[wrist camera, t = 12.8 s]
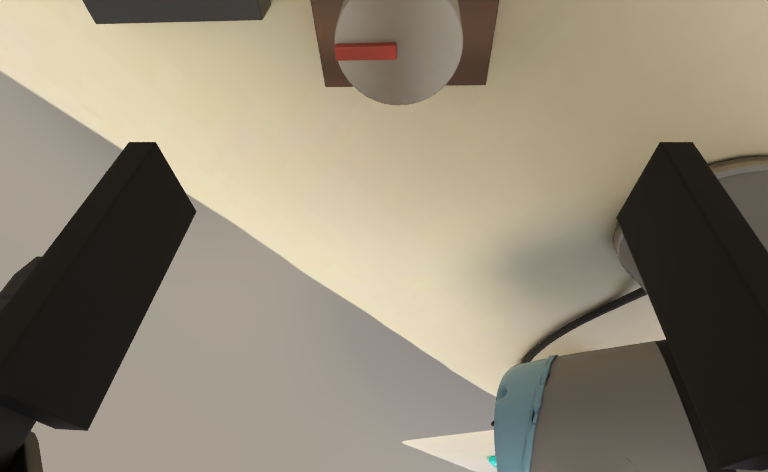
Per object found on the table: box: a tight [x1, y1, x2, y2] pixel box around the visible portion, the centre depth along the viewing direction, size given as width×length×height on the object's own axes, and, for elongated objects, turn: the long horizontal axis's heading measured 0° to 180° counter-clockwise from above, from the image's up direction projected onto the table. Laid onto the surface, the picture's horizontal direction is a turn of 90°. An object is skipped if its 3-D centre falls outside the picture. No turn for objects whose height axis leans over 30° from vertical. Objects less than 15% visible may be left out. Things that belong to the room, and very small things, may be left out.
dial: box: [334, 0, 463, 105], centre depth 18 cm, size 5×5×8 cm
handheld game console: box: [489, 456, 497, 468], centre depth 117 cm, size 10×16×1 cm, turn 25°
